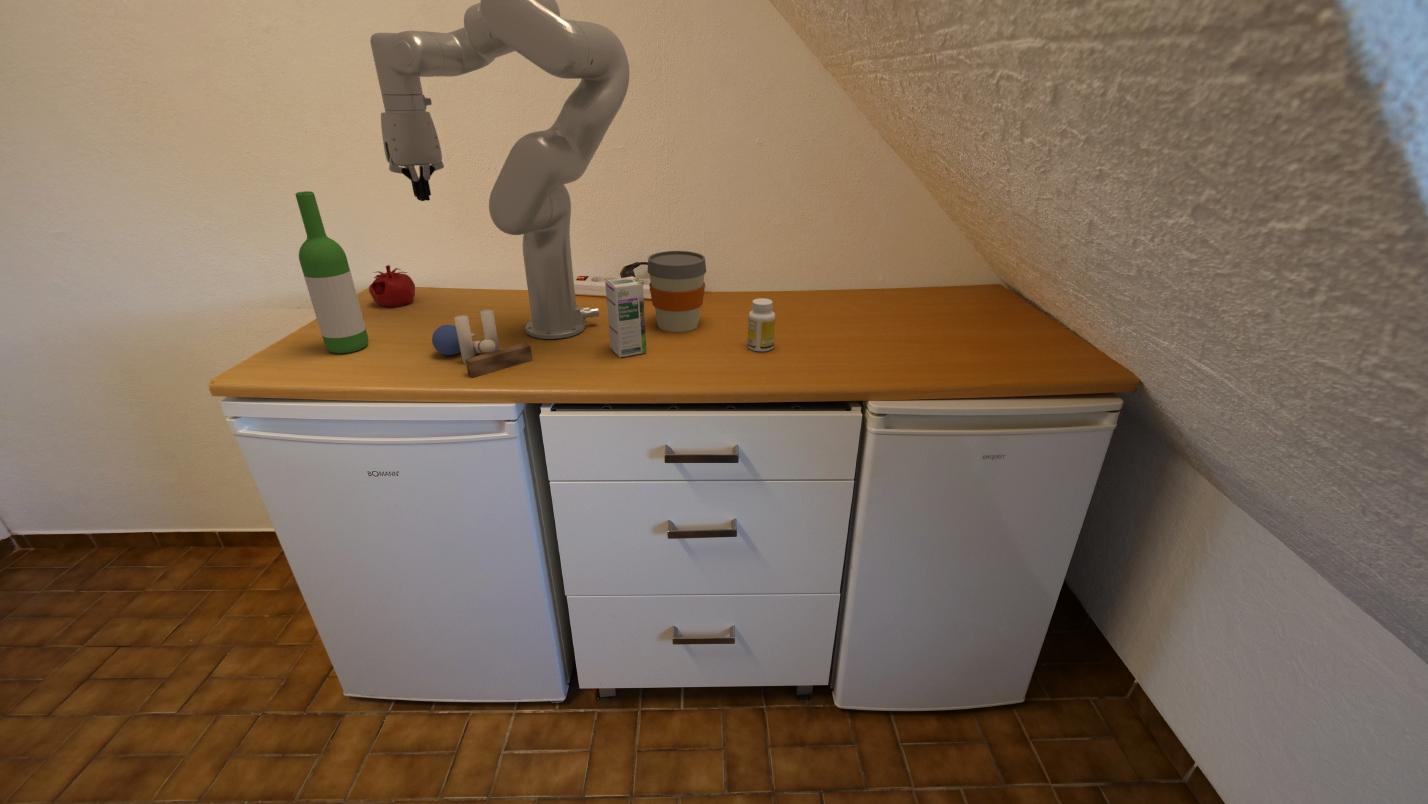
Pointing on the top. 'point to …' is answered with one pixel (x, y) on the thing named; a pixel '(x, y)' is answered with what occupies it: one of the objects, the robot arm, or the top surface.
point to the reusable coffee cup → (677, 288)
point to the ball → (446, 340)
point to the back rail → (498, 359)
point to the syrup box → (626, 316)
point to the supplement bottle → (761, 325)
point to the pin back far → (464, 337)
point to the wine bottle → (329, 283)
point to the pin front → (483, 346)
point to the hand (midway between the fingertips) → (423, 199)
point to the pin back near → (489, 327)
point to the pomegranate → (392, 288)
